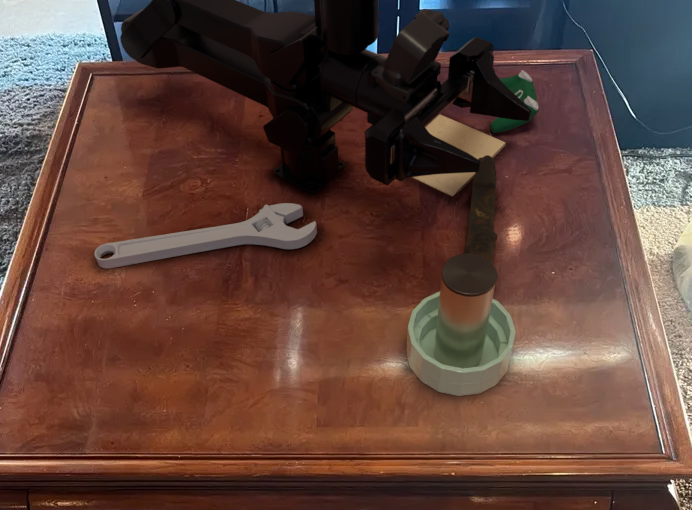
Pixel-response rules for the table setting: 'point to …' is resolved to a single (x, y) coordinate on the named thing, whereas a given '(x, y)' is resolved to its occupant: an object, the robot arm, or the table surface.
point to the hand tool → (482, 211)
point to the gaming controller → (525, 92)
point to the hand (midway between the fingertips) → (505, 140)
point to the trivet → (466, 141)
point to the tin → (464, 310)
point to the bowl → (453, 377)
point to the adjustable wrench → (214, 238)
